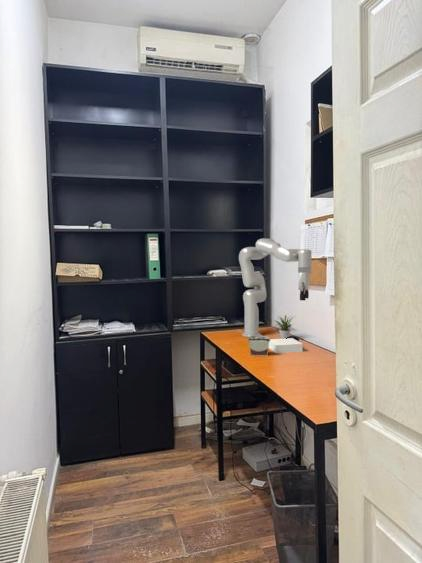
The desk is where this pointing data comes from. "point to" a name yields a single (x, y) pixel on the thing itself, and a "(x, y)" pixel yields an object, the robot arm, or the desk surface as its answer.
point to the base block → (285, 345)
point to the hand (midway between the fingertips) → (304, 299)
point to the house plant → (284, 327)
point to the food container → (259, 345)
